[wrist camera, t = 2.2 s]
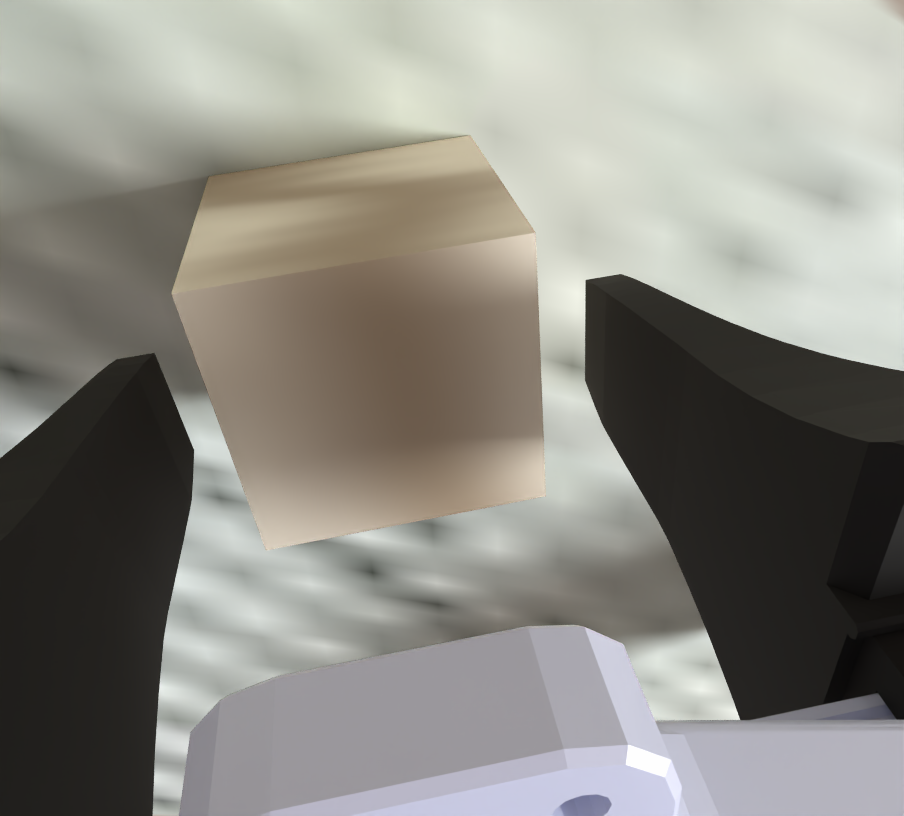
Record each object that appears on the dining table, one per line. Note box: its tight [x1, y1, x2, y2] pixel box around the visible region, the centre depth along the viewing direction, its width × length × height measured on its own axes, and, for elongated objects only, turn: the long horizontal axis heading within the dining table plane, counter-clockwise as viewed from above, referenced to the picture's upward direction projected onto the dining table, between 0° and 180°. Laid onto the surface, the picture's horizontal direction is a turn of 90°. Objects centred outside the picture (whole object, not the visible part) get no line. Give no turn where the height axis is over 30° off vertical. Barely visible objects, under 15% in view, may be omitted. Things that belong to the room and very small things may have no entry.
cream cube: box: [171, 135, 546, 550], centre depth 13 cm, size 5×5×5 cm
